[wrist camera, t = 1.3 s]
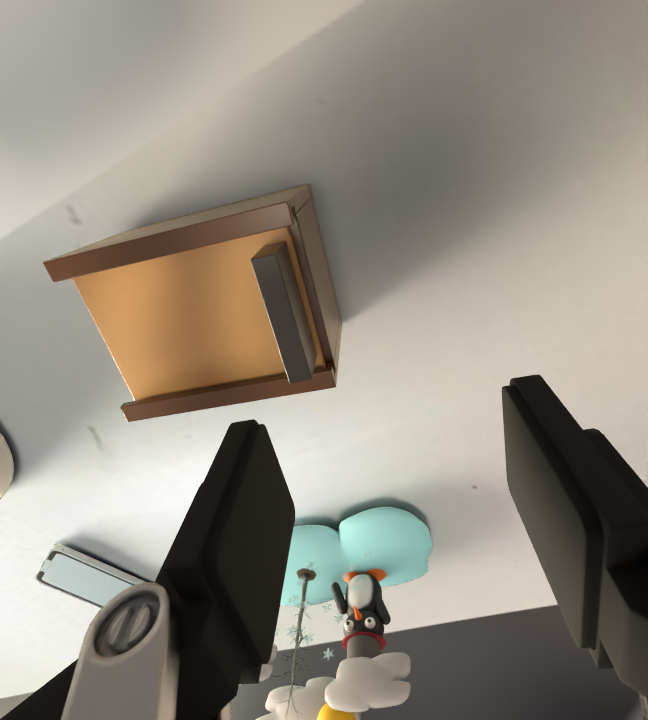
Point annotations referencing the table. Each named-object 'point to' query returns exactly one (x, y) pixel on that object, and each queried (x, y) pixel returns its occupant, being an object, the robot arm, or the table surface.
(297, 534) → the penguin figurine
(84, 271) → the box
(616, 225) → the table surface
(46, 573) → the smartphone
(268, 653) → the robot arm
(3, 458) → the fat ring
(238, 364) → the lid
